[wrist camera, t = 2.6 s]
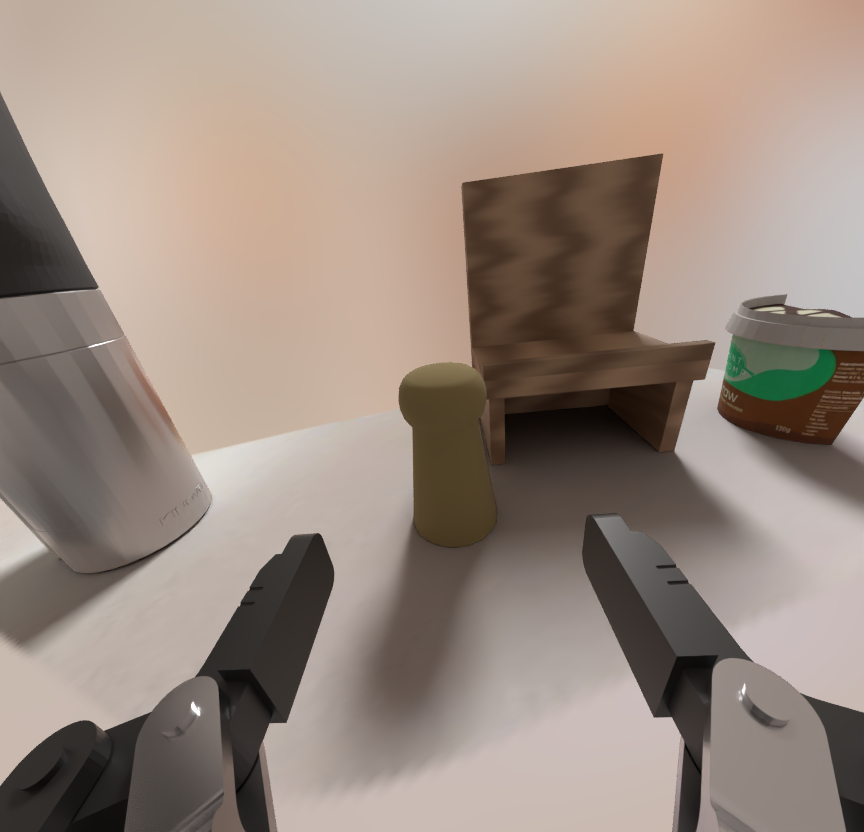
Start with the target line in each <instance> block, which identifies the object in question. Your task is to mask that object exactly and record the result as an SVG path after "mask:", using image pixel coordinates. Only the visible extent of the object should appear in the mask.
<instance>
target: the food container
mask: <svg viewBox="0 0 864 832" xmlns="http://www.w3.org/2000/svg"><path fill="white" fill-rule="evenodd" d="M786 297H787V294H786V295H774V296H765V297H758V298H753V299H749V300H746V301H743V302H742V303H741V305H740V307H739V308H738V309H736V310H735V311H734V312H733V314H732V316H731V318H730V319H729V321H728V323H727V324H726V326H725V329H726V330H727V331H728V332H730V333H732V334H733V336H732V341H731V346H730V351H729V355H728V360H727V365H726V370H725V374H724V379H723V384H722V389H721V394H720V398H719V403H718V408H717V409H718V411H719V414H720V415H721V416H722V417H723V418H725V419H726V420H728V421H730V422H731V423H733V424H735V425H737V426H740V427H742V428H745V429H747V430H750V431H753V432H756V433H760V434H763V435H767V436H771V437H775V438H779V439H784V440H789V441H796V442H802V443H811V444H823V445H832V443H833V442H834V440H835V439H836V437H837V436H838V435H839V433H840V432H841V430H842V429H843V427H844V426H845V424H846V423H847V421H848V420H849V418H850V417H851V415H852V414H853V412H854V411H855V409H856V408H857V407H858V405H859V403H860V402H861V401H862V399H863V398H864V318H852V317H850V316H848V315H845V314H843V313H840V312H837V311H834V310H825V309H801V308H796V307H791V306H786V305H784V304H785V300H786Z"/></svg>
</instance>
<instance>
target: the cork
mask: <svg viewBox="0 0 864 832" xmlns="http://www.w3.org/2000/svg"><path fill="white" fill-rule="evenodd" d="M486 398H487V396H486V386H485V383H484V380H483V379H482V377H481V376H480V374H479V373H478V372H477V370H476V369H474V368H472V367H470V366H468V365H466V364H461V363H451V362H449V363H436V364H430V365H426V366H422V367H420V368H417V369H415V370H413V371H412V372H410V373H409V374H407V375H406V376H405V378H404V379H403V380H402V383H401V385H400V387H399V405H400V410H401V412H402V415H403V417H404V419H405V420H406V421H407V422H408V424H409V425H411V426H412V427H413V488H414V525H415V526H416V528H417V530H418V532H419V534H420V535H421V536H423V537H424V538H425V539H426V540H427V541H429V542H431V543H434V544H436V545H439V546H444V547H453V548H456V547H462V546H469V545H471V544H474V543H476V542H478V541H480V540H482V539H483V538H485V537H486V536H487V535H488V534H489V533H490V532H491V531H492V529H493V527H494V526H495V524H496V522H497V509H496V504H495V499H494V494H493V489H492V484H491V479H490V474H489V469H488V464H487V459H486V455H485V450H484V445H483V440H482V435H481V430H480V425H479V418H480V417H481V416H482V414H483V412H484V408H485V404H486Z"/></svg>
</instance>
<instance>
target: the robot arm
mask: <svg viewBox="0 0 864 832" xmlns="http://www.w3.org/2000/svg"><path fill="white" fill-rule="evenodd" d="M97 288H98V285H97V283H96V281H95V279H94V278H93V276H92V274H91V272H90V271H89V269H88V267H87V265H86V263H85V261H84V259H83V258H82V255H81V254H80V252H79V250H78V248H77V246H76V244H75V242H74V240H73V238H72V236H71V234H70V232H69V230H68V228H67V227H66V224H65V223H64V221H63V219H62V217H61V215H60V213H59V211H58V210H57V208H56V206H55V204H54V202H53V200H52V198H51V197H50V195H49V193H48V191H47V189H46V187H45V185H44V183H43V181H42V179H41V177H40V175H39V173H38V171H37V169H36V167H35V164H34V162H33V160H32V158H31V157H30V154H29V152H28V150H27V148H26V146H25V144H24V142H23V140H22V137H21V135H20V133H19V131H18V129H17V127H16V125H15V123H14V120H13V119H12V116H11V114H10V112H9V110H8V108H7V106H6V104H5V101H4V99H3V97H2V95H1V93H0V498H1V499H2V500H3V501H4V502H5V504H6V505H7V506H8V507H9V508H10V509H11V510H12V511H13V512H14V513H15V514H16V515H17V516H18V517H19V518H20V520H21V521H22V522H23V523H24V524H25V525H26V526H27V527H28V528H29V529H30V530H31V531H32V532H33V533H34V535H35V536H36V537H37V538H38V539H39V540H40V541H41V542H42V543H43V544H44V545H45V546H46V547H47V548H48V549H49V551H50V552H51V553H52V554H53V555H54V556H55V557H56V558H61V559H62V560H63V561H64V562H65V563H66V564H67V565H68V566H69V567H70V568H71V569H72V570H73V571H76V572H80V573H97V572H101V571H106V570H111V569H114V568H117V567H120V566H123V565H126V564H129V563H131V562H134V561H136V560H138V559H141V558H143V557H145V556H147V555H149V554H151V553H153V552H155V551H157V550H159V549H160V548H162V547H164V546H165V545H167V544H169V543H170V542H172V541H173V540H175V539H176V538H178V537H179V536H181V535H182V534H183V533H184V532H186V531H187V530H188V529H190V528H191V527H192V526H193V525H194V524H195V523H196V522H197V521H198V520H199V519H200V518H201V517H202V516H203V514H204V513H205V512H206V511H207V509H208V507H209V505H210V503H211V499H212V495H211V492H210V490H209V488H208V486H207V485H206V483H205V481H204V479H203V477H202V475H201V474H200V472H199V470H198V468H197V466H196V464H195V463H194V461H193V459H192V457H191V455H190V453H189V451H188V449H187V448H186V446H185V444H184V442H183V440H182V438H181V437H180V435H179V433H178V431H177V429H176V427H175V426H174V424H173V422H172V420H171V418H170V416H169V415H168V413H167V411H166V409H165V407H164V406H163V404H162V402H161V400H160V398H159V396H158V395H157V393H156V391H155V389H154V387H153V385H152V384H151V382H150V380H149V378H148V376H147V375H146V373H145V371H144V369H143V367H142V365H141V364H140V362H139V360H138V358H137V356H136V354H135V352H134V351H133V349H132V347H131V345H130V343H129V341H128V340H127V338H126V336H125V335H124V333H123V331H122V329H121V327H120V325H119V324H118V322H117V320H116V318H115V316H114V314H113V313H112V311H111V309H110V307H109V305H108V303H107V302H106V300H105V298H104V296H103V294H102V292H101V291H100V290H96V289H97ZM582 556H583V563H584V567H585V570H586V573H587V575H588V578H589V580H590V582H591V584H592V586H593V588H594V591H595V593H596V595H597V597H598V599H599V601H600V603H601V605H602V608H603V610H604V612H605V614H606V616H607V618H608V620H609V623H610V625H611V627H612V629H613V631H614V633H615V635H616V638H617V640H618V642H619V644H620V646H621V648H622V650H623V652H624V655H625V657H626V659H627V661H628V663H629V665H630V667H631V670H632V672H633V674H634V676H635V678H636V680H637V682H638V685H639V687H640V689H641V691H642V693H643V695H644V697H645V699H646V702H647V704H648V706H649V708H650V710H651V712H652V714H653V716H654V717H672V718H673V720H674V722H675V724H676V726H677V728H678V730H679V732H680V734H681V740H680V747H679V759H678V771H677V782H676V794H675V806H674V818H673V830H672V832H864V713H863V712H859V711H856V710H852V709H849V708H845V707H842V706H838V705H835V704H831V703H828V702H825V701H821V700H817V699H815V698H812V697H809V696H806V695H804V694H801V693H799V692H798V691H797V690H796V689H795V688H794V687H793V686H792V685H790V684H789V683H788V682H787V681H785V680H784V679H783V678H781V677H780V676H778V675H776V674H775V673H774V672H772V671H771V670H768V669H767V668H765V667H763V666H761V665H759V664H756V663H754V662H753V661H752V660H751V659H750V658H749V657H748V656H747V655H746V654H745V652H744V651H743V650H742V649H741V648H740V646H739V645H738V644H737V643H736V641H735V640H734V639H733V637H732V636H731V635H730V633H729V632H728V631H727V630H726V628H725V627H724V626H723V625H722V623H721V622H720V621H719V619H718V618H717V617H716V616H715V614H714V613H713V612H712V610H711V609H710V608H709V607H708V605H707V604H706V603H705V601H704V600H703V599H702V598H701V596H700V595H699V594H698V592H697V591H696V590H695V589H694V587H693V586H692V585H691V584H689V583H688V580H687V578H686V577H685V576H684V575H683V573H682V572H681V571H680V569H679V568H676V564H675V563H674V562H673V560H672V559H671V558H670V557H669V555H668V554H667V553H666V551H665V550H664V549H663V548H662V546H661V545H659V544H658V543H656V542H655V541H654V540H652V539H651V538H650V537H648V536H647V535H646V534H644V533H643V532H642V531H640V532H631V531H630V529H629V528H628V526H627V525H626V523H625V522H624V521H623V519H622V518H621V517H620V516H619V515H618V514H616V513H612V514H598V515H588V516H587V518H586V524H585V533H584V541H583V550H582ZM333 582H334V568H333V564H332V562H331V559H330V557H329V554H328V551H327V549H326V546H325V543H324V541H323V538H322V536H321V535H320V534H319V533H316V534H302V535H294V536H292V537H291V539H290V540H289V542H288V544H287V545H286V547H285V549H284V551H283V553H282V554H276V555H275V556H274V557H273V558H272V559H271V560H270V561H269V562H268V563H267V564H266V565H265V566H264V567H263V568H262V569H261V570H260V571H259V573H258V574H257V576H256V578H255V579H254V581H253V583H252V584H251V586H250V590H249V591H247V593H246V594H245V596H244V598H243V599H242V601H241V605H240V607H238V608H237V610H236V611H235V613H234V615H233V616H232V618H231V620H230V621H229V623H228V625H227V626H226V628H225V630H224V631H223V633H222V635H221V636H220V638H219V640H218V641H217V643H216V645H215V646H214V648H213V650H212V651H211V653H210V655H209V656H208V658H207V660H206V661H205V663H204V665H203V666H202V668H201V669H200V671H199V673H198V674H197V675H196V676H195V678H192V679H190V680H187V681H186V682H184V683H182V684H180V685H179V686H177V687H176V688H175V689H173V690H172V691H171V692H170V693H169V694H167V695H166V696H165V697H164V698H163V699H162V700H161V701H160V702H159V704H158V705H157V706H156V707H155V708H154V709H153V711H152V712H150V713H148V714H145V715H143V716H140V717H138V718H135V719H133V720H130V721H128V722H125V723H123V724H120V725H118V726H115V727H113V728H110V729H108V730H105V731H103V730H102V729H101V728H99V727H98V726H97V725H96V724H94V723H93V722H91V721H79V722H75V723H72V724H70V725H68V726H66V727H64V728H62V729H60V730H59V731H57V732H55V733H54V734H52V735H51V736H49V737H48V738H47V739H45V740H44V741H43V742H42V743H40V744H39V745H38V746H37V747H36V748H34V749H33V750H32V751H31V752H30V753H29V754H28V755H27V756H26V757H25V758H24V759H23V760H22V761H21V762H20V763H19V764H18V766H17V767H16V768H15V769H14V770H13V771H12V772H11V774H10V775H9V776H8V777H7V778H6V780H5V781H4V782H3V783H2V785H1V786H0V832H277V827H276V819H275V812H274V806H273V799H272V793H271V786H270V779H269V773H268V766H267V760H266V753H265V747H264V743H263V739H264V736H265V733H266V731H267V728H268V726H269V723H287V720H288V717H289V714H290V711H291V708H292V705H293V702H294V699H295V696H296V693H297V690H298V687H299V684H300V681H301V679H302V676H303V673H304V670H305V667H306V664H307V661H308V658H309V655H310V652H311V649H312V646H313V643H314V640H315V637H316V634H317V632H318V629H319V626H320V623H321V620H322V617H323V614H324V611H325V608H326V605H327V602H328V599H329V596H330V593H331V590H332V587H333Z"/></svg>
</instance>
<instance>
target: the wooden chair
mask: <svg viewBox="0 0 864 832" xmlns="http://www.w3.org/2000/svg"><path fill="white" fill-rule="evenodd" d="M662 158H663V154H657V155H650V156H643V157H637V158H629V159H623V160H616V161H609V162H602V163H596V164H588V165H581V166H575V167H568V168H562V169H555V170H547V171H541V172H534V173H527V174H520V175H514V176H507V177H500V178H493V179H486V180H479V181H472V182H465V183H462V203H463V220H464V236H465V252H466V271H467V287H468V304H469V321H470V338H471V354H472V368H474V369H476V370H477V372H478V373H479V374H480V376H481V377H482V379H483V380H484V383H485V386H486V396H487V398H486V404H485V408H484V412H483V414H482V416H481V417H480V420H481V424H482V428H483V432H484V437H485V441H486V445H487V449H488V453H489V457H490V461H491V465H497V464H505V414H511V413H522V412H534V411H545V410H556V409H567V408H579V407H590V406H601V405H608V407H609V408H610V409H611V410H612V411H613V412H614V413H616V414H617V415H618V416H619V417H620V418H621V419H622V420H623V421H625V422H626V423H627V424H628V425H629V426H630V427H631V428H633V429H634V430H635V431H636V432H637V433H638V434H639V435H640V436H642V437H643V438H644V439H645V440H646V441H647V442H648V443H649V444H651V445H652V446H653V447H654V448H655V449H656V450H657V451H658V452H666V451H674V450H675V446H676V442H677V439H678V435H679V431H680V427H681V424H682V420H683V416H684V413H685V409H686V405H687V402H688V398H689V394H690V391H691V387H692V383H693V380H704V379H705V377H706V373H707V370H708V366H709V363H710V360H711V356H712V353H713V349H714V345H715V342H711V341H708V340H703V341H692V342H683V343H673V344H667V343H664V342H662V341H659V340H657V339H654V338H651V337H648V336H646V335H643V334H640V333H638V332H635V331H633V329H634V323H635V317H636V312H637V306H638V300H639V294H640V288H641V282H642V276H643V270H644V264H645V258H646V253H647V247H648V241H649V235H650V229H651V223H652V217H653V211H654V205H655V199H656V193H657V187H658V182H659V176H660V170H661V164H662Z"/></svg>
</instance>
